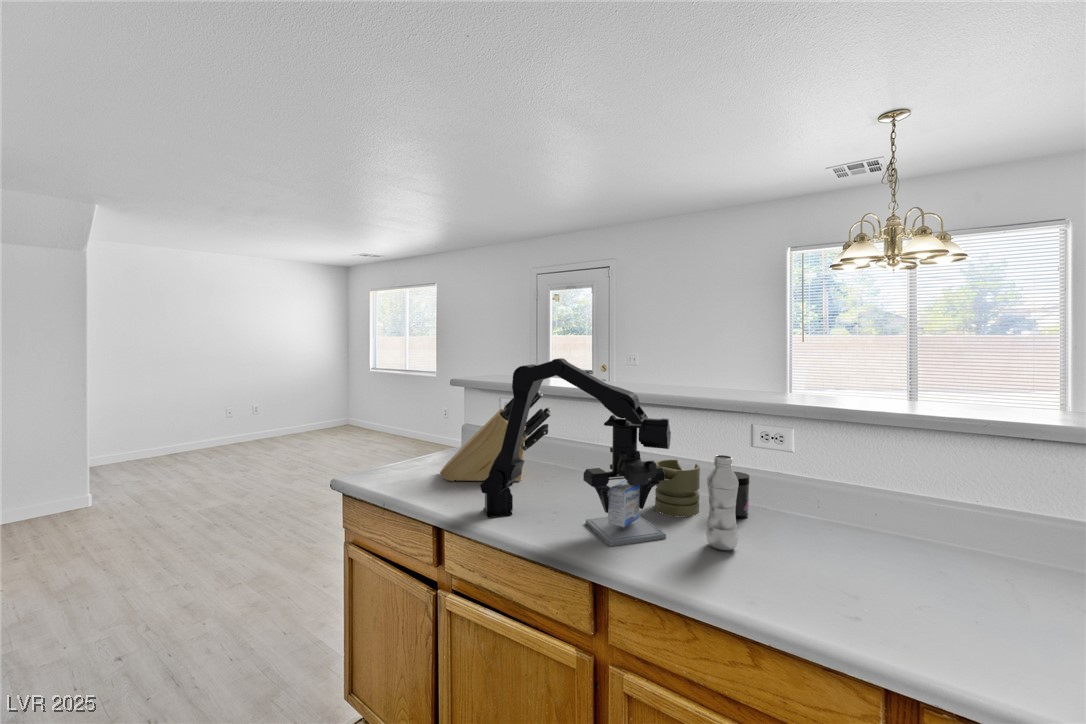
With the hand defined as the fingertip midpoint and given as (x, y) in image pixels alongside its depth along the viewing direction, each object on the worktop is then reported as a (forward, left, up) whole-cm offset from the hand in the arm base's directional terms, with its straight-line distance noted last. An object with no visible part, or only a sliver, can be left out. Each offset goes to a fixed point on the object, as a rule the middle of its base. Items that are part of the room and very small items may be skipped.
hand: (623, 510), depth 119 cm
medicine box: (0, 0, -3) cm, 3 cm away
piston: (+20, +9, -5) cm, 23 cm away
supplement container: (+32, +1, -5) cm, 32 cm away
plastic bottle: (+16, -15, -5) cm, 23 cm away
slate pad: (0, 0, -5) cm, 5 cm away
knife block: (-19, +53, -5) cm, 57 cm away
